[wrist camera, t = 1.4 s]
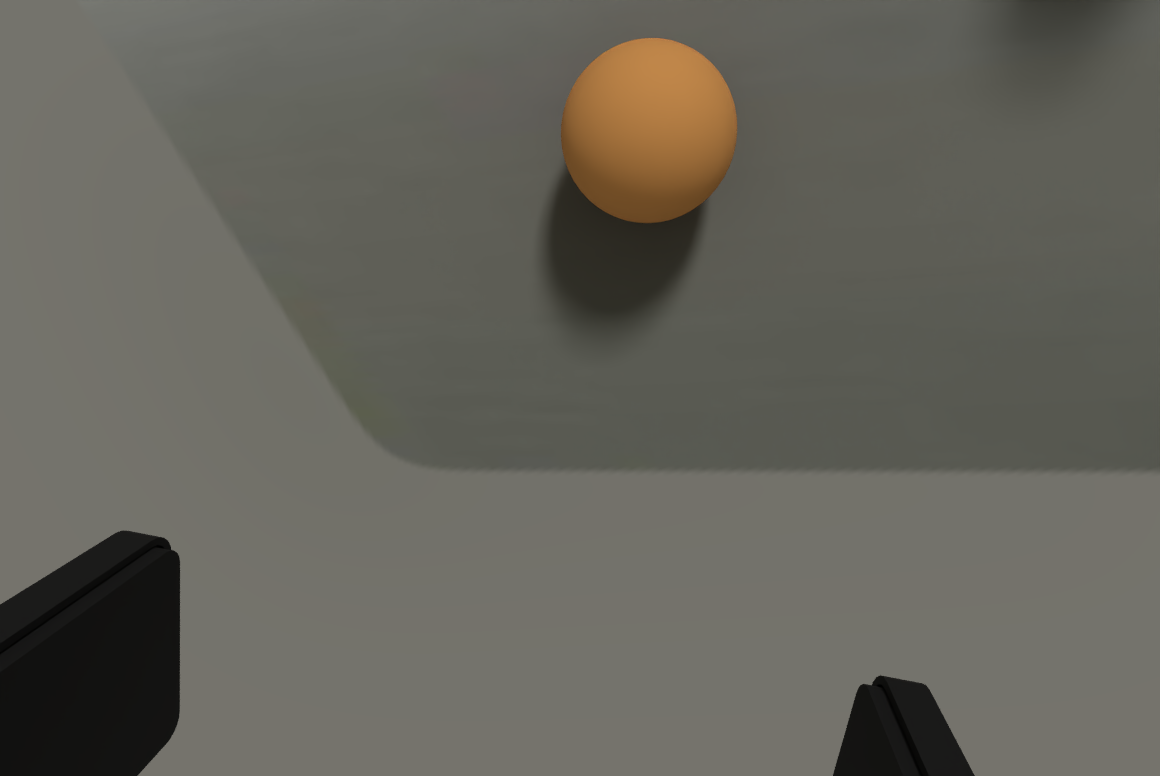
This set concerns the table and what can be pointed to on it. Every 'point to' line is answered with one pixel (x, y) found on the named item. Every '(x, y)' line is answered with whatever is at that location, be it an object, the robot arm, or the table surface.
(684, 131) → the ball
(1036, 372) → the table surface
